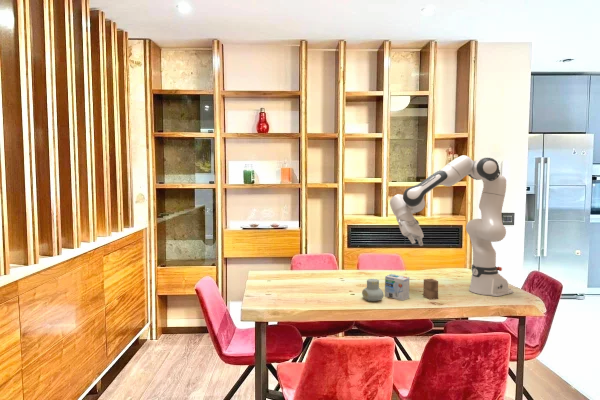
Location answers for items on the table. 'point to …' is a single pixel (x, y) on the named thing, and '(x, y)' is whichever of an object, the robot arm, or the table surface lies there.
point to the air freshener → (372, 291)
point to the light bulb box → (397, 287)
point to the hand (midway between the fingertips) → (417, 244)
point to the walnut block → (430, 289)
